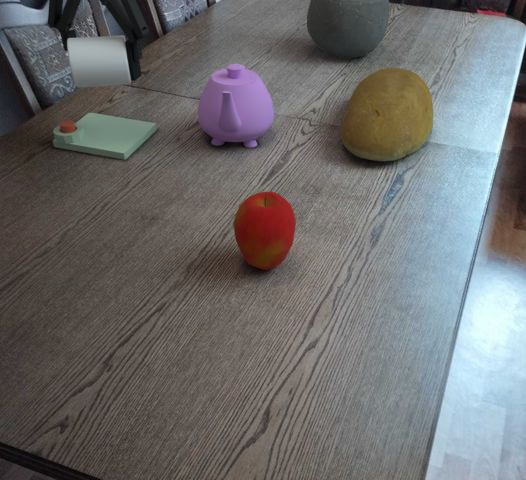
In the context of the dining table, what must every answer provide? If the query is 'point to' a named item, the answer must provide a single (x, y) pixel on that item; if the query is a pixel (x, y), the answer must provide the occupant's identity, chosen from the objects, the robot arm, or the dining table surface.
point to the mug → (98, 61)
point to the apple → (265, 229)
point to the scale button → (67, 126)
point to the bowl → (347, 25)
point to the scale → (105, 135)
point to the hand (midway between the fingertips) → (106, 73)
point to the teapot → (235, 106)
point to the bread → (388, 115)
